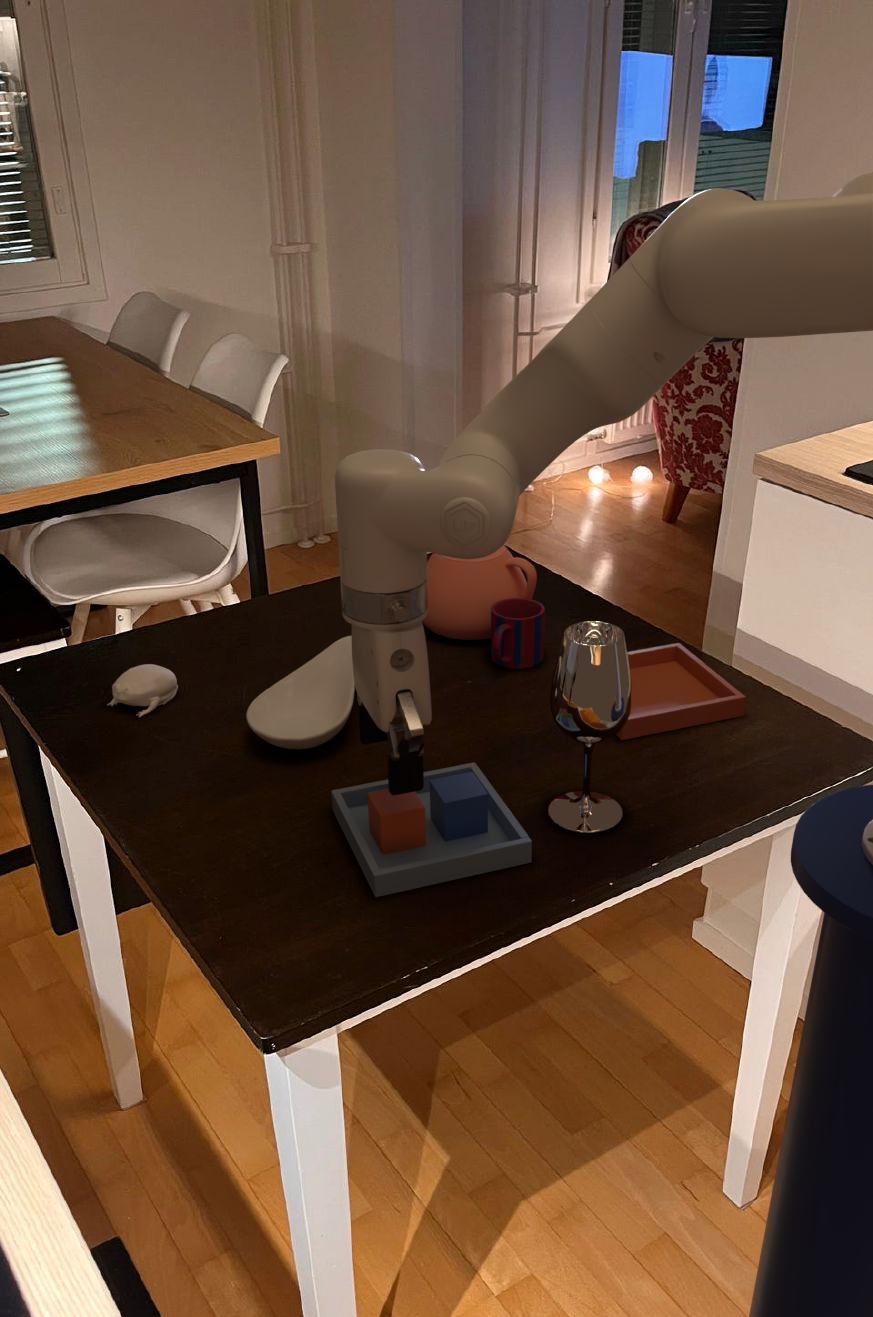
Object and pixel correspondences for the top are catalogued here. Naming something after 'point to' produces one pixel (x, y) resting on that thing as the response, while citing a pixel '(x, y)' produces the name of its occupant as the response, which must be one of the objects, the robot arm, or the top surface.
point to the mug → (517, 633)
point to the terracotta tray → (676, 692)
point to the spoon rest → (307, 701)
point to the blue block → (458, 806)
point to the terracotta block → (396, 820)
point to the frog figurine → (145, 687)
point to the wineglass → (590, 714)
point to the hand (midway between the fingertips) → (390, 765)
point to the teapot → (473, 591)
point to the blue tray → (431, 840)
